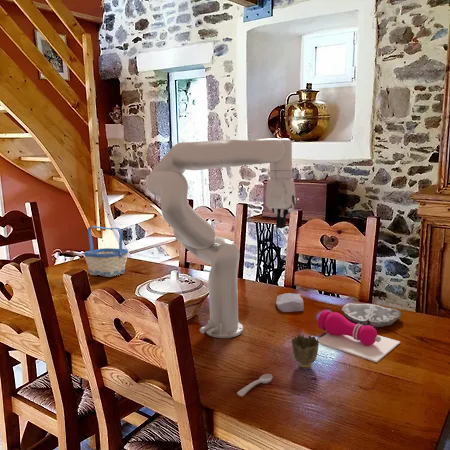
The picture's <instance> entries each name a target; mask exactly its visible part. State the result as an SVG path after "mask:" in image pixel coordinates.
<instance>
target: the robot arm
mask: <svg viewBox="0 0 450 450" xmlns="http://www.w3.org/2000/svg"><path fill="white" fill-rule="evenodd" d="M292 146H293V144H292V140H291V139H290V138H256V139H251V140H249V139H247V140H246V139H245V140H244V139H220V140H219V139H218V140H206V141H205V140H204V141H202V140H201V141H187V142H185V141H183V142H178V143H176V144H175V145H173V146H172V147H171V148H170V149H169V150H168V151H167V152H166V153H165V155H164V156H163V157H162V158H161V160H160V161H159V162H158V163H157V164H156V165H155V167H154V168H152V170H151V171H150V173H149V174H148V176H147V180H146V187H147V190H148V191H149V193H150V194H151V195H153V196H155V197H158V198H161V199H160V201H161V202H160V205H161V207H160V209H161V213H162V216H163V219H164V221H166V224H168V226H170V227H171V228H172V230H173V236H174V237H175V240H177V242H178V243H179V244H181V245H182V246H183V247H184V248H185V249H187V251H189V252H190V253H191V254H193V255H194V256H195V257H196V258H198V259H199V260H200V261H201V262H202V261H203V262H205V263H206V264H209V265H210V272H209V274H208V302H209V303H208V305H209V307H208V308H209V319H208V320H207V323H206V325H203V326H201V327H199V332H200V333H201V334H204V333H206V334H207V335H208V336H210V337H213V338H217V339H231V338H234V337H237V336H239V335H241V334H242V333H243V332H244V325H243V324H242V323H240V322H239V299H238V296H239V295H238V294H239V293H238V290H239V289H238V271H239V270H238V269H239V263H240V262H239V261H240V255H241V253H240V250H239V247H238V245H237V244H236V243H235V242H234V241H231V240H229V239H227V238H224V237H222V236H217V235H216V231H215V229H214V227H213V226H212V224H210V222H208V221H207V220H206V219H204V218H203V217H202V216H201V215H200V214H199V213H197V212H196V210H195V209H194V208H193V207H192V206H191V205H190V204H189V201H188V192H189V184H188V180H187V179H186V177H185V175H184V172H185V171H202V170H209V169H220V168H230V167H232V168H233V167H236V168H237V167H241V166H242V167H243V166H250V165H261V164H262V165H263V164H265V165H266V164H269V171H268V172H267V175H268V176H269V178H268V179H267V181H266V188H265V206H266V207H267V209H268V211H271V212H272V213H273V214H274V217H275V220H276V222H275V224H276V228H277V229H284V228H286V227H287V226H286V224H287V217H288V215H289V214H290V213H293V212H295V211H296V210H295V207H296V203H297V201H296V188H295V187H296V186H295V181H294V178H293V173H292V172H293V149H292V148H293V147H292Z"/></svg>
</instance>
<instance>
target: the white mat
mask: <svg viewBox="0 0 450 450" xmlns="http://www.w3.org/2000/svg"><path fill="white" fill-rule="evenodd" d="M377 336H380V338H381V341H380V342H376V341H375V343H374V344H372V345H364V344H362V343H361V342H360V340H359V341H358V340H355V339H354V338H353V337H351V336H348V335H331V334H329V333H328V332H326V334H324V335H323V336H321V337H320V338H317V339H318V341H319V345H323V346H326V347H329V348H332V349H334V350H339V351H341V352H344V353H347V354H350V355H353V356H356V357H359V358H363V359H365V360H369V361H371V362H374V363H378V362H379V361H380V360H382V359H383V358H384V357H385V356H387V355H388V354H389V353H390V352H391V351H392V350H394V349H395V348H396V347H398V345H399V344H401V341H399V340H396V339H392V338H390V337H386V336H382V335H378V334H377Z"/></svg>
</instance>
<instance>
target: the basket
mask: <svg viewBox="0 0 450 450" xmlns="http://www.w3.org/2000/svg"><path fill="white" fill-rule="evenodd" d="M92 228H94V229H99V230H100V229H101V230H116V231H118V232H119V239H118V242H119V243H118V248H113V247H112V248H111V247H110V248H109V247H108V248H107V247H105V248H99V249H98V248H97V249H94V241H93V235H92ZM87 234H88V242H89V250H88V251H84V252H83V256H84V259H85V262H86V265H87V268H88V273H89V275H90V276H97V274H98V275H100V276H102V277H108V278H111V277H118V275H119V276H121V275H120V274H122V275H123V273H124V274H125V269H126V264H127V260H128V253H129V249H128V248H126V249H124V248H123V239H124V238H123V237H124V236H123V235H124V234H123V229H122V228H120V227H103V226H97V225H93V226H89V227H88V229H87ZM116 275H117V276H116Z"/></svg>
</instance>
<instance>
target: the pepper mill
mask: <svg viewBox="0 0 450 450" xmlns="http://www.w3.org/2000/svg"><path fill="white" fill-rule="evenodd" d="M317 327H318V328H319V329H320V330H323V331H326V333H329V334H331V335H348V336H351V337H353V338H354V339H355V340H358V341H359V340H360V342H361V343H362V344H364V345H372V344H374V343H375V341H376V342H380V341H381V338H380V336H381V335H379V336H377V335H378V332H377V329H376V327H372V326H369V325H366V326H364V325H361V324H358V323H355V322H353V321H351V320H349V319H348V318H347V317H346V316H345V315H344V314H341V313H339V312H336V311H334V312H331V311H329V310H326V309H325V310H322V311H321V312H320V314H319V316H318V318H317Z"/></svg>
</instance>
